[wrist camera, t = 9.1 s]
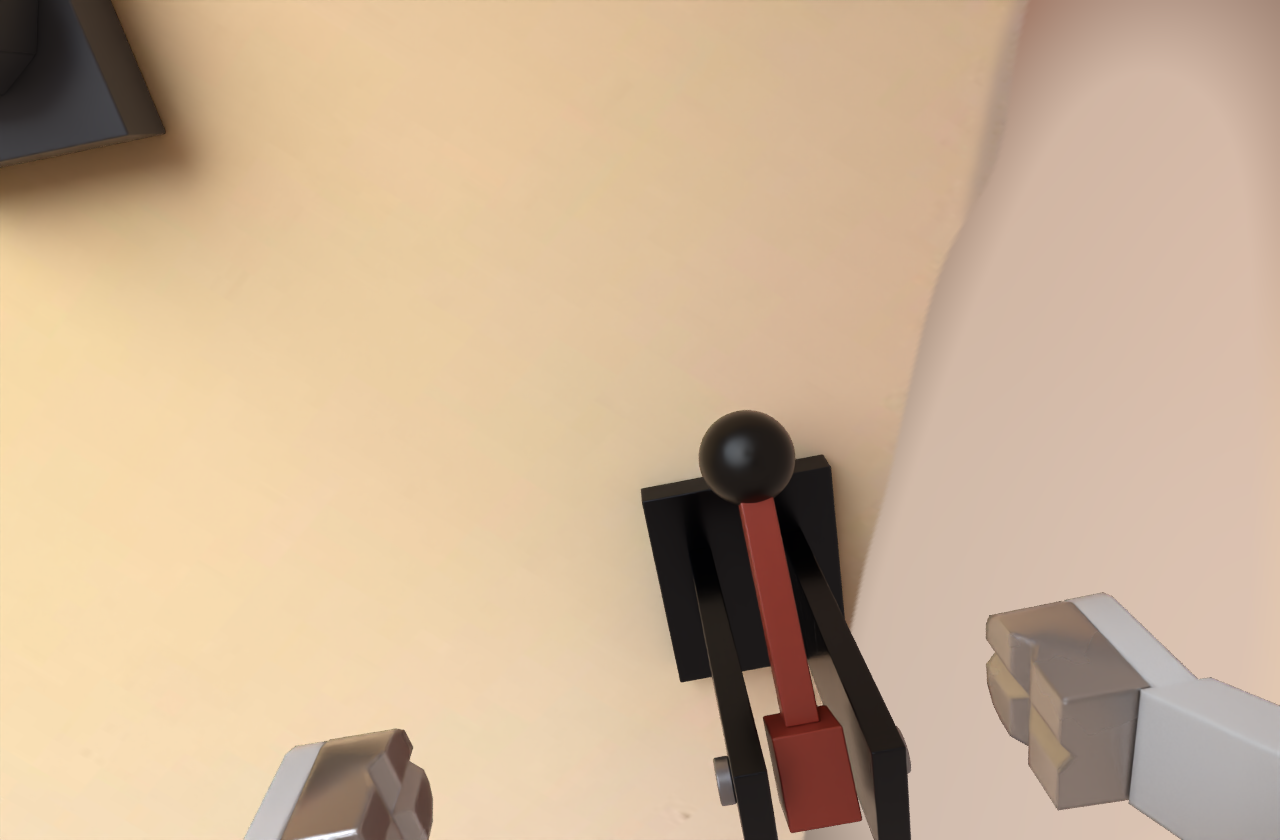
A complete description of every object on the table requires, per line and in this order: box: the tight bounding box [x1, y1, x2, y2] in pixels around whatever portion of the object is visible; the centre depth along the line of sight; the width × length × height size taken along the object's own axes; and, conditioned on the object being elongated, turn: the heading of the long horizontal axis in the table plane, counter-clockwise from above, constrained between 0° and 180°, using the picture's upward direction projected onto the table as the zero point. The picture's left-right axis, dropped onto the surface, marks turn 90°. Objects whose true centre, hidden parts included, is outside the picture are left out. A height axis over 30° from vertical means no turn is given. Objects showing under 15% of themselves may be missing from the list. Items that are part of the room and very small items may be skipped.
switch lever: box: [699, 410, 862, 833], centre depth 24 cm, size 13×3×3 cm, turn 11°
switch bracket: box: [641, 455, 911, 840], centre depth 27 cm, size 10×8×13 cm
